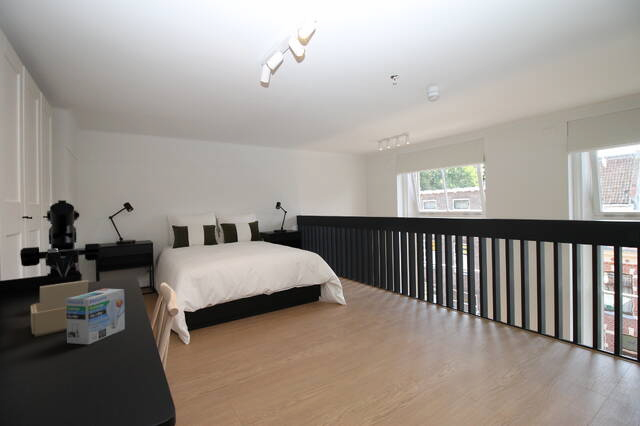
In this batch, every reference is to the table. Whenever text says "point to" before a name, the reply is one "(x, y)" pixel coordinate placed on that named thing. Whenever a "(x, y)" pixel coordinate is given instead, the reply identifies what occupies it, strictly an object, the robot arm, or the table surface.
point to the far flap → (60, 294)
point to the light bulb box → (95, 315)
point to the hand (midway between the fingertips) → (63, 276)
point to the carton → (48, 320)
